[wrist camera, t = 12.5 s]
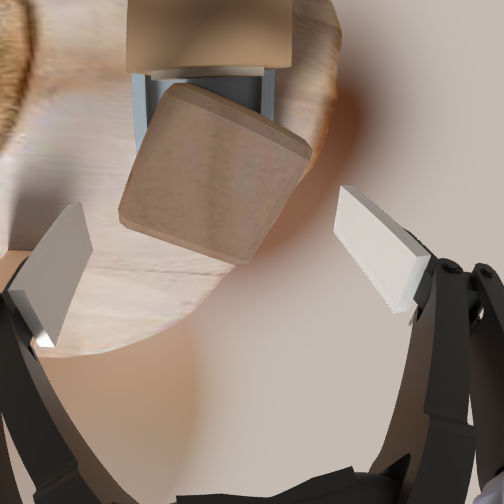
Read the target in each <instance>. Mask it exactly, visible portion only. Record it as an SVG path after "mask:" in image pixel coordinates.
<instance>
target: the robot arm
mask: <svg viewBox="0 0 504 504" xmlns="http://www.w3.org/2000/svg"><path fill="white" fill-rule="evenodd" d="M333 232H334V233H335V235H336V236H337V237H338V238H339V240H340V241H341V242H342V243H343V245H344V246H345V247H346V249H347V250H348V251H349V253H350V254H351V255H352V257H353V258H354V259H355V260H356V262H357V263H358V264H359V266H360V267H361V268H362V270H363V271H364V272H365V274H366V275H367V277H368V278H369V279H370V281H371V282H372V283H373V284H374V286H375V288H376V289H377V290H378V292H379V293H380V294H381V296H382V297H383V299H384V300H385V302H386V303H387V304H388V306H389V307H390V309H391V310H392V312H393V313H394V314H396V313H400V312H404V311H408V309H409V307H410V305H411V303H412V301H413V299H414V300H415V302H416V303H417V304H418V306H417V308H416V310H415V312H414V314H413V316H412V319H411V320H410V322H409V325H411V324H412V323H413V327H412V333H411V338H410V344H409V349H408V354H407V359H406V364H405V369H404V374H403V378H402V382H401V386H400V390H399V394H398V398H397V401H396V405H395V409H394V412H393V416H392V419H391V422H390V425H389V429H388V432H387V435H386V438H385V441H384V444H383V447H382V449H381V451H380V453H379V455H378V457H377V458H376V460H375V461H374V462H373V464H372V466H371V468H370V470H369V472H368V473H365V472H354V470H353V467H352V466H350V467H347V468H344V469H341V470H338V471H335V472H331V473H328V474H324V475H321V476H317V477H314V478H311V479H309V480H307V481H305V482H303V483H301V484H299V485H297V486H295V487H293V488H291V489H289V490H287V491H284V492H282V493H280V494H278V495H275V496H273V497H268V498H265V497H248V496H238V495H228V494H208V495H189V496H188V495H187V496H176V499H177V502H175V503H171V504H465V500H466V496H467V491H468V487H469V483H470V478H471V473H472V467H473V462H474V456H475V449H476V464H477V474H478V481H479V486H480V490H481V494H480V495H478V496H477V497H476V498H475V499H474V501H473V504H504V285H503V283H502V282H501V280H500V278H499V276H498V275H497V273H496V272H495V270H493V269H492V267H490V266H489V265H487V264H482V263H477V264H476V265H475V267H474V269H473V271H472V273H470V272H463V269H462V268H461V267H460V266H459V265H458V264H457V263H455V262H454V261H451V260H449V259H445V258H440V259H438V258H437V257H436V256H435V255H434V254H433V253H432V252H430V250H429V249H428V248H427V247H426V246H424V245H422V243H421V242H420V241H419V240H417V238H416V237H415V236H414V235H413V234H412V233H411V232H409V231H407V230H406V229H404V228H402V227H401V226H400V225H399V224H398V223H396V222H395V221H394V220H393V219H392V218H391V217H390V216H389V215H387V214H386V213H385V212H384V211H383V210H382V209H381V208H379V207H378V206H377V205H376V204H375V203H374V202H372V201H371V200H370V199H369V198H368V197H367V196H365V195H364V194H363V193H362V192H360V191H359V190H358V189H357V188H355V187H354V186H341V187H340V193H339V200H338V206H337V212H336V219H335V224H334V230H333ZM92 251H93V248H92V244H91V240H90V237H89V233H88V229H87V225H86V221H85V217H84V213H83V209H82V204H81V202H79V203H72V204H68V205H67V206H66V207H65V209H64V210H63V211H62V212H61V214H60V215H59V216H58V217H57V219H56V220H55V221H54V223H53V224H52V225H51V227H50V228H49V229H48V231H47V232H46V233H45V235H44V236H43V237H42V239H41V240H40V242H39V243H38V244H37V246H36V247H35V249H34V250H33V252H32V253H31V254H30V256H28V257H27V258H25V259H24V260H23V261H22V262H21V263H20V265H19V266H18V268H17V269H16V272H14V274H13V275H12V278H10V280H9V282H8V283H7V285H6V287H5V288H4V290H3V292H2V293H0V504H23V503H22V500H21V498H20V494H19V491H18V488H17V484H16V481H15V478H14V474H13V470H12V466H11V462H10V458H9V454H8V449H7V444H6V439H5V434H4V427H3V421H2V415H3V417H4V420H5V423H6V425H7V428H8V430H9V433H10V435H11V437H12V440H13V442H14V444H15V447H16V449H17V451H18V453H19V455H20V457H21V459H22V461H23V464H24V466H25V468H26V469H27V471H28V473H29V475H30V477H31V479H32V481H33V482H34V484H35V486H36V492H35V494H34V495H33V499H34V502H35V504H139V503H138V502H137V501H136V500H134V499H133V498H132V497H131V496H130V495H129V494H127V493H126V492H125V491H124V490H123V489H122V488H121V487H120V486H119V485H118V483H117V482H116V481H115V480H114V479H113V478H112V476H111V475H110V474H109V473H108V471H107V470H106V469H105V468H104V467H103V465H102V464H101V462H100V461H99V460H98V458H97V457H96V456H95V454H94V453H93V452H92V450H91V449H90V447H89V446H88V445H87V443H86V442H85V440H84V439H83V438H82V436H81V434H80V433H79V431H78V430H77V428H76V427H75V426H74V424H73V422H72V421H71V419H70V417H69V416H68V414H67V413H66V411H65V409H64V407H63V406H62V404H61V402H60V400H59V399H58V397H57V395H56V393H55V392H54V390H53V388H52V386H51V384H50V382H49V380H48V378H47V376H46V374H45V372H44V370H43V368H42V366H41V364H40V362H39V360H38V357H37V355H36V353H35V351H34V349H33V347H32V346H31V344H30V342H31V340H32V337H34V338H35V340H36V342H37V343H38V345H39V346H40V347H55V346H56V343H57V340H58V336H59V333H60V331H61V328H62V325H63V322H64V319H65V316H66V314H67V311H68V308H69V306H70V303H71V300H72V298H73V295H74V293H75V290H76V288H77V285H78V283H79V280H80V278H81V276H82V273H83V271H84V269H85V266H86V264H87V262H88V260H89V258H90V255H91V253H92ZM482 309H484V313H483V317H482V319H480V316H479V314H480V313H481V311H482ZM469 394H470V400H471V407H472V415H473V424H474V426H472V425H468V423H467V415H468V404H469ZM1 412H2V414H1Z"/></svg>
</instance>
